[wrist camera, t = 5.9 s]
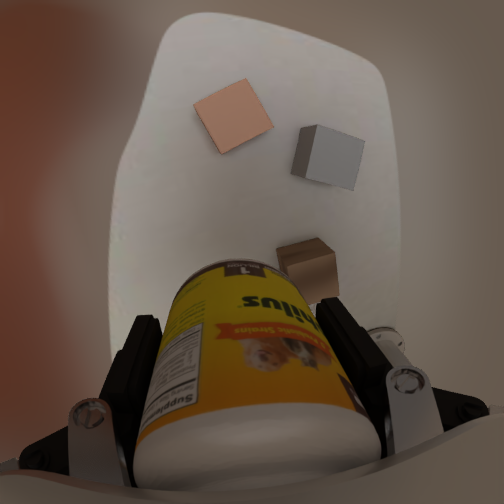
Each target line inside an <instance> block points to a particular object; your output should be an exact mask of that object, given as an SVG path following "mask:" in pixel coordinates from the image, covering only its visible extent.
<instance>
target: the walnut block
mask: <svg viewBox="0 0 504 504" xmlns="http://www.w3.org/2000/svg"><path fill="white" fill-rule="evenodd" d="M276 251H277V256H278V261H279V265H280V270H281V272H283V273H284V274H285V275H287V276H288V277H289V278H290V279H291V280H292V282H293V283H294V284H295V285H296V287H297V288H298V289H299V291H300V293H301V294H302V296H303V298H304V299H305V301H306V303H307V304H308V305H310V304H313V303H317V302H320V301H321V300H322V299H324V298H331V297H336V296H339V284H338V275H337V266H336V257H335V252H334V251H333V250H332V249H330V248H329V247H328V246H327V245H326V244H325V243H324V242H323V241H322V240H320V239H319V238H314V239H311V240H307V241H303V242H299V243H296V244H292V245H288V246H285V247H281V248H277V249H276Z"/></svg>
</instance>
